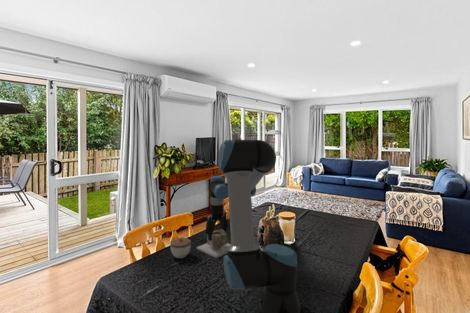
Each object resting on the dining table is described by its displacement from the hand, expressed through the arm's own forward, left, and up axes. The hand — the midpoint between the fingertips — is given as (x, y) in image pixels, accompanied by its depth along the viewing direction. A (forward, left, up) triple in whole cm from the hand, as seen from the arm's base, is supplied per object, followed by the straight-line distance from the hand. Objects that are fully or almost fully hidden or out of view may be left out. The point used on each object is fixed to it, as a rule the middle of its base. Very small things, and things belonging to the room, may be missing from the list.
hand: (216, 243), depth 149 cm
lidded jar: (-19, +8, -4) cm, 21 cm away
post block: (0, 0, -3) cm, 3 cm away
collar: (0, 0, 0) cm, 0 cm away
